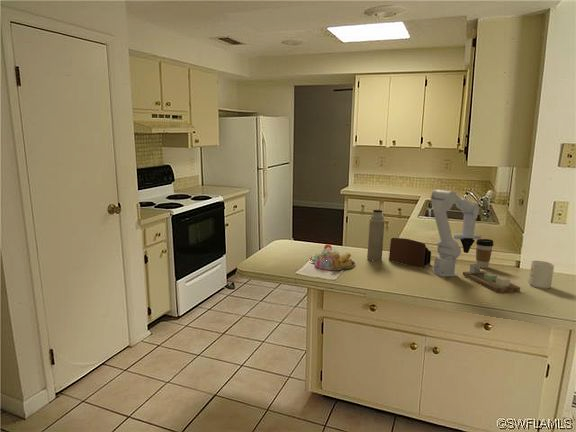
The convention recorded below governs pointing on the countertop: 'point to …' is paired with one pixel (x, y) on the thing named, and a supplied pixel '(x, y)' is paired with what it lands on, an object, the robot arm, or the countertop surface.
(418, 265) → the letter holder
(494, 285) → the brown flat board
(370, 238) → the thermos bottle
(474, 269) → the slider knob
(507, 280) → the beige cube
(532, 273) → the mug
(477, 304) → the countertop surface
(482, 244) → the coffee cup
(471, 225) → the robot arm
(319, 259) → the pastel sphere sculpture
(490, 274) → the sage green cube
